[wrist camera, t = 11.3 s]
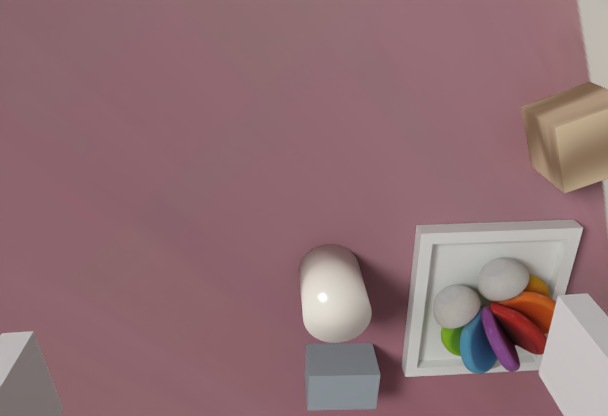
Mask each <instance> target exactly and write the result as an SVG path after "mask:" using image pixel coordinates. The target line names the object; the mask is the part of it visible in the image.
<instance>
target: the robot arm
mask: <svg viewBox="0 0 608 416" xmlns="http://www.w3.org/2000/svg"><path fill="white" fill-rule="evenodd" d="M539 376H540V377H541V379H542V381H543V382H544V384H545V386H546V387H547V389H548V390H549V392H550V394H551V395H552V397H553V399H554V400H555V402H556V404H557V405H558V407H559V409H560V410H561V412H562V414H563V415H564V416H608V316H607V315H606V314H605V313H604V312H603V310H602V309H601V308H600V307H599V306H598V305H597V304H596V302H595V301H594V300H593V299H592V298H591V297H590V296H589V294H588V293H586V294H571V295H558V297H557V301H556V305H555V309H554V314H553V318H552V322H551V326H550V330H549V334H548V338H547V342H546V346H545V350H544V354H543V358H542V362H541V366H540V370H539ZM62 411H63V407H62V404H61V401H60V399H59V396H58V394H57V391H56V388H55V386H54V383H53V381H52V378H51V375H50V373H49V370H48V368H47V365H46V362H45V360H44V357H43V355H42V352H41V349H40V347H39V344H38V342H37V339H36V336H35V334H34V331H31V332H17V333H2V334H1V336H0V416H60V415H61V413H62Z"/></svg>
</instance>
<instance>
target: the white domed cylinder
mask: <svg viewBox="0 0 608 416" xmlns="http://www.w3.org/2000/svg"><path fill="white" fill-rule="evenodd" d="M299 278H300V289H301V299H302V310H303V321H304V325H305V327H306V329H307V330H308V332H309V333H310V334H311V335H312V336H314V337H315V338H317V339H319V340H322V341H325V342H331V343H339V342H345V341H348V340H351V339H353V338H355V337H357V336H358V335H360V334H361V333H362V332H363V331H364V330H365V329H366V328H367V326H368V325H369V323H370V320H371V315H372V311H371V306H370V302H369V299H368V295H367V292H366V288H365V285H364V281H363V278H362V274H361V271H360V267H359V264H358V261H357V258H356V257H355V255H354V254H353V253H352V252H351V251H350V250H349V249H347V248H345V247H343V246H340V245H336V244H325V245H321V246H318V247H316V248H314V249H312V250H310V251H309V252H308V253H307V254H306V255H305V256H304V257H303V259H302V261H301V263H300V266H299Z"/></svg>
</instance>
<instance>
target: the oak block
mask: <svg viewBox="0 0 608 416" xmlns="http://www.w3.org/2000/svg"><path fill="white" fill-rule="evenodd" d="M521 109H522V115H523V121H524V127H525V132H526V138H527V144H528V150H529V156H530V161H531V166H532V167H533V168H534V169H535V170H536V171H538V172H539V173H540V174H541V175H543V176H544V177H545V178H546V179H547V180H549V181H550V182H551V183H552V184H554V185H555V186H556V187H557V188H558V189H560V190H561V191H562V192H563V193H567V192H570V191H573V190H576V189H579V188H582V187H585V186H588V185H591V184H593V183H596V182H599V181H602V180H605V179H608V89H606V88H603V87H601V86H598V85H596V84H594V83H591V82H588V83H585V84H582V85H580V86H577V87H574V88H571V89H569V90H566V91H563V92H560V93H558V94H555V95H552V96H549V97H547V98H544V99H541V100H538V101H536V102H533V103H530V104H527V105H525V106H522V107H521Z"/></svg>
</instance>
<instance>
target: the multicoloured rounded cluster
mask: <svg viewBox="0 0 608 416" xmlns="http://www.w3.org/2000/svg"><path fill="white" fill-rule="evenodd" d="M478 288H479V292H480V293H481V295H482V296H483V297H485V298H486V299H488V300H490V301H491V304H490V306H489V307H488V306H484V307H482V306H481V300H480V297H479V295H478V293H477V292H476V291H474V290H472V289H471V288H469V287H466V286H463V285H451V286H448V287H446V288H444V289H442V290H441V291H440V292H439V293H438V294H437V296H436V297H435V300H434V303H433V315H434V318H435V320H436V322H437V323H438V324H439V325H440V326H441V327H442V329H441V340H442V343H443V345H444V346H445V348H446V349H447V350H448V351H449V352H450V353H452V354H454V355H457V356H461V358H462V361H463V363H464V365H465V367H466V368H467V369H468V370H469V371H471V372H473V373H477V374H482V373H485V372H487V371H489V370H490V369H493V368H496V367H499V366H500V365H502V366H503V367H504V368H505V369H506V370H508V371H510V372H513V371H516V370H518V369H519V368H520V361H519V357H518V354H517V351H516V348H515V345H517V346H519V347H521V348H522V349H524V350H526V351H528V352H530V353H533V354H536V355H542V354H544V350H545V346H546V342H547V338H548V334H549V330H550V326H551V322H552V318H553V314H554V309H555V305H556V301H554V300H553V299H551V298H549V288H548V286H547V285H546V283H545V282H544V281H543V280H542V279H540V278H539V277H537V276H535V275H532V274H529V273H528V270H527V269H526V267H525V266H523V265H522V264H521V263H520V262H518V261H516V260H514V259H510V258H497V259H494V260H491V261H489V262H488V263H487V264H485V265H484V267H483V268H482V269H481V271H480V273H479V276H478Z"/></svg>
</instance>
